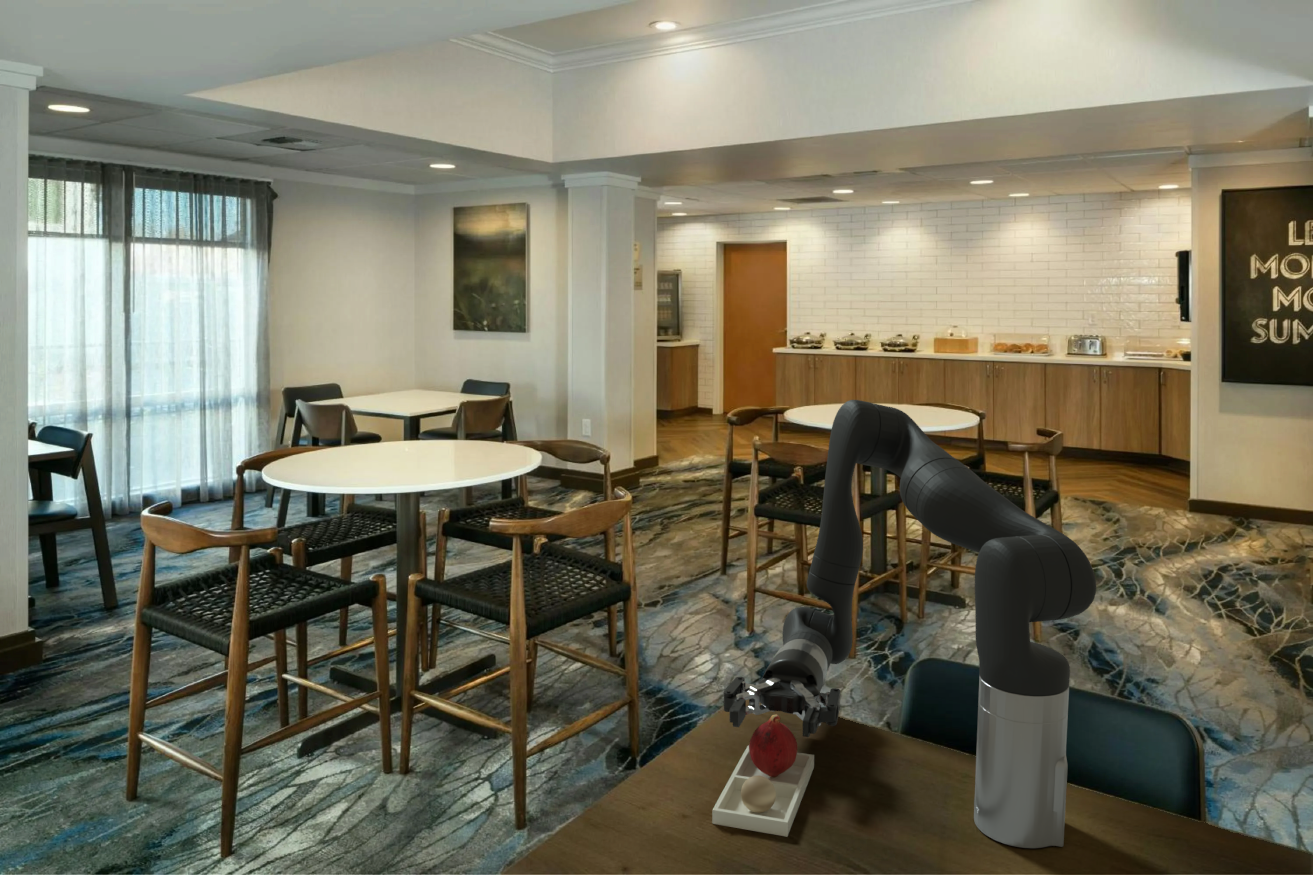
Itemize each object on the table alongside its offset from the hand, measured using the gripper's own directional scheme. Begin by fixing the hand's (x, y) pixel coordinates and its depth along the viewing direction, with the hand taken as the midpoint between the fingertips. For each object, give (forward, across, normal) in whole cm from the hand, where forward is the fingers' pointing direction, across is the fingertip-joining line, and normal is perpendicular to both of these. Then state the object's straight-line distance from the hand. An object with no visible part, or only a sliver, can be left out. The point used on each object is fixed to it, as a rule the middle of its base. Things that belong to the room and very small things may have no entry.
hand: (770, 724), depth 114 cm
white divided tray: (+2, 0, +8) cm, 9 cm away
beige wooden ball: (+6, 0, +8) cm, 10 cm away
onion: (-2, 0, +8) cm, 8 cm away
